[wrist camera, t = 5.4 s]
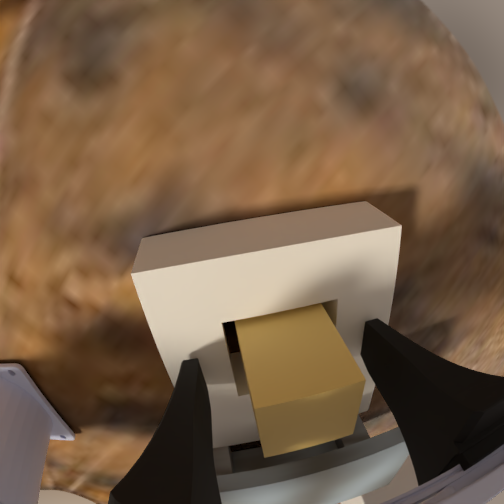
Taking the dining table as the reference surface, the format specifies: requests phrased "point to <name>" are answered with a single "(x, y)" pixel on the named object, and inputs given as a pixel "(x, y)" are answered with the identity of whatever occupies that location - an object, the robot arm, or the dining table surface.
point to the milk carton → (390, 487)
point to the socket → (263, 291)
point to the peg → (299, 378)
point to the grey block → (311, 470)
